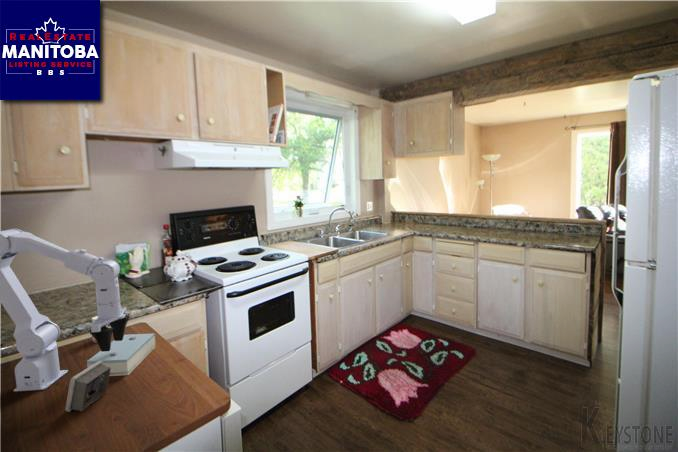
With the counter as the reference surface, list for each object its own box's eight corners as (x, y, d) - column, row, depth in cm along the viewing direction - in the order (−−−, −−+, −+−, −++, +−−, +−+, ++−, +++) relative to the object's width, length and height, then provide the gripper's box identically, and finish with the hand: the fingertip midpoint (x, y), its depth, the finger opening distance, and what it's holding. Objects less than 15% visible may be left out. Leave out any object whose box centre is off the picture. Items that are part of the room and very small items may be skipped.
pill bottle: (100, 343, 121) (97, 320, 120) (89, 342, 122) (86, 319, 121) (111, 337, 126) (109, 315, 125) (100, 336, 127) (98, 314, 126)
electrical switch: (95, 390, 92) (95, 358, 91) (113, 393, 92) (113, 361, 91) (64, 413, 83) (63, 377, 82) (83, 416, 83) (83, 380, 81)
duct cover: (121, 337, 116) (121, 334, 116) (154, 335, 117) (154, 332, 117) (87, 364, 98) (86, 360, 98) (126, 362, 99) (126, 358, 99)
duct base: (128, 375, 100) (126, 362, 99) (88, 377, 99) (87, 364, 99) (155, 346, 118) (154, 335, 117) (122, 348, 117) (121, 337, 116)
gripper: (108, 309, 94) (112, 356, 95) (135, 293, 108) (138, 334, 109) (81, 310, 93) (85, 357, 95) (111, 294, 107) (115, 335, 109)
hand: (112, 345), depth 102 cm, fingers open, 6 cm apart
